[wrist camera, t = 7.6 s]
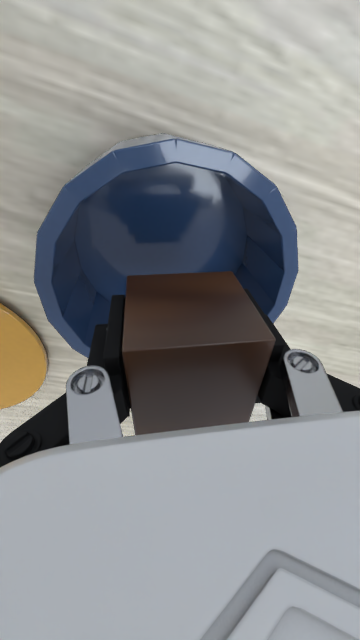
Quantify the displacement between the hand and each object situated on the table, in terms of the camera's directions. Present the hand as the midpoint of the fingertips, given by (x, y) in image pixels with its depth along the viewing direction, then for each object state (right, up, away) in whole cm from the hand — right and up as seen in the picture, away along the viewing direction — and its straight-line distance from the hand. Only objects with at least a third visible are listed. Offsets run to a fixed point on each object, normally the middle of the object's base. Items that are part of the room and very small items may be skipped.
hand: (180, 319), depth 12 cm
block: (0, 0, 0) cm, 0 cm away
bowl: (-1, +5, +7) cm, 9 cm away
